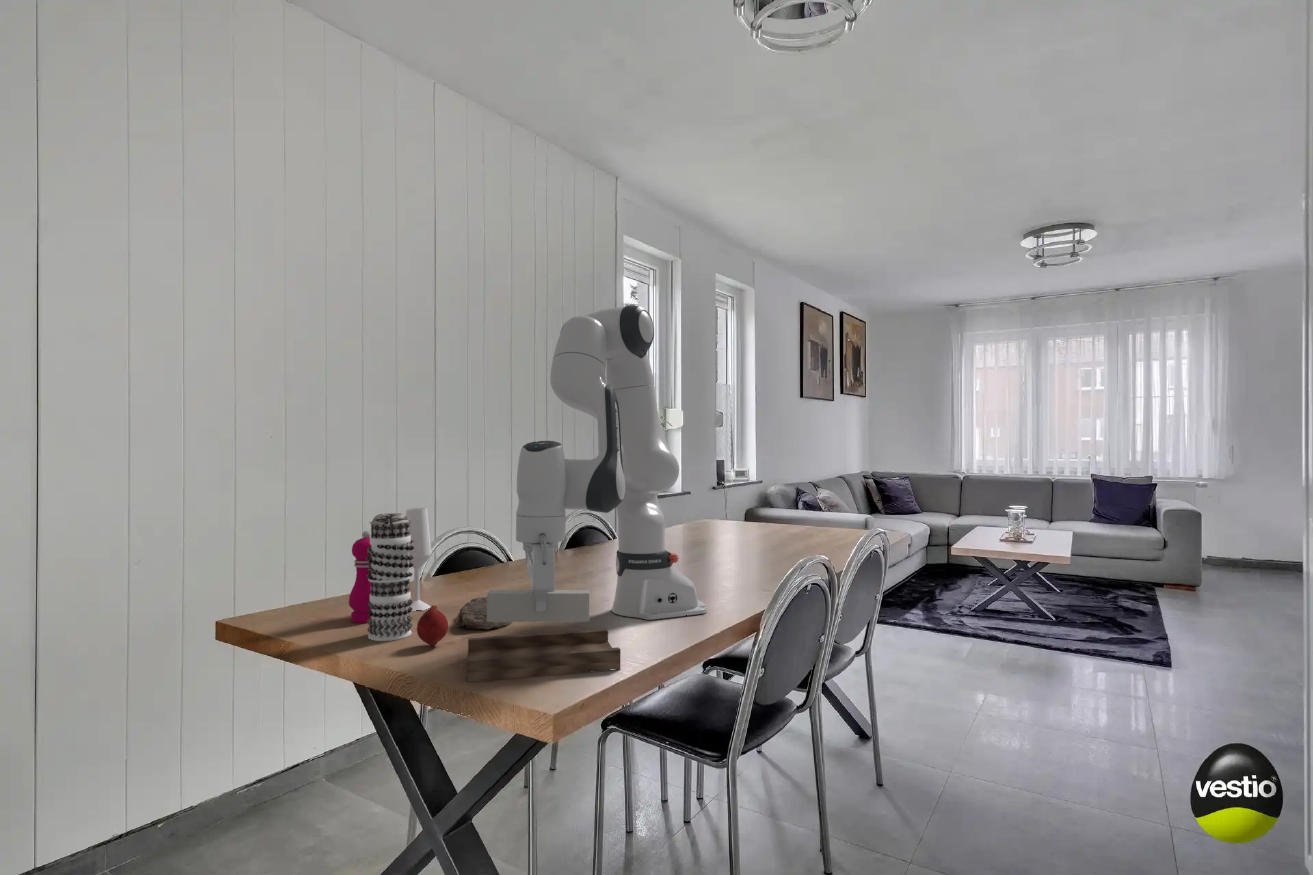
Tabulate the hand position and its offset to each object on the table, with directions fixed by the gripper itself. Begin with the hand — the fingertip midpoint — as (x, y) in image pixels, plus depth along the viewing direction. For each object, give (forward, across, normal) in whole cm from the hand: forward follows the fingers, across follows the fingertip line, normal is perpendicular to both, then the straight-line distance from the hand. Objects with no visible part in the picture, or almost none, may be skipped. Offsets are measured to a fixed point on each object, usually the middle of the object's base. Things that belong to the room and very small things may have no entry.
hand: (539, 607), depth 125 cm
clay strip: (+2, 0, 0) cm, 2 cm away
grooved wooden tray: (+10, 0, -1) cm, 10 cm away
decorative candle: (+11, +26, +29) cm, 40 cm away
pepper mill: (+11, +41, +36) cm, 55 cm away
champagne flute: (+10, +50, +26) cm, 57 cm away
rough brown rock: (+11, +34, +9) cm, 36 cm away
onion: (+10, +16, +20) cm, 27 cm away
